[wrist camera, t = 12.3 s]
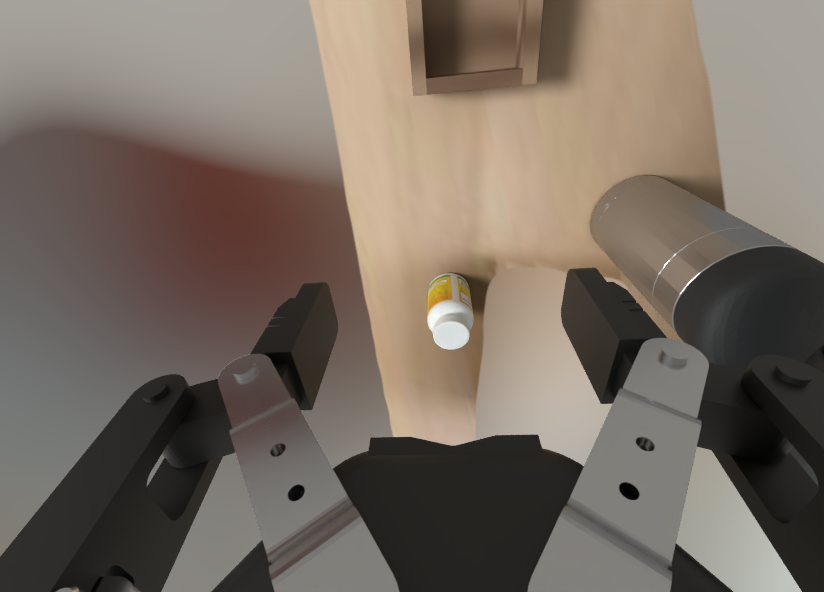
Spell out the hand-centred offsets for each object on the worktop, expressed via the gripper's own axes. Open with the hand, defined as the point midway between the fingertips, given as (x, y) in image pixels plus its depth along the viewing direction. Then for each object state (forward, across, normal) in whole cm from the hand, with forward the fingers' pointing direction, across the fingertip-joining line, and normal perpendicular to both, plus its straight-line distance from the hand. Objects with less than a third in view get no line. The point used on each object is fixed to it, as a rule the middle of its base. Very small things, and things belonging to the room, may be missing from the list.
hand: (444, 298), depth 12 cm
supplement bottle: (+30, -1, +19) cm, 36 cm away
